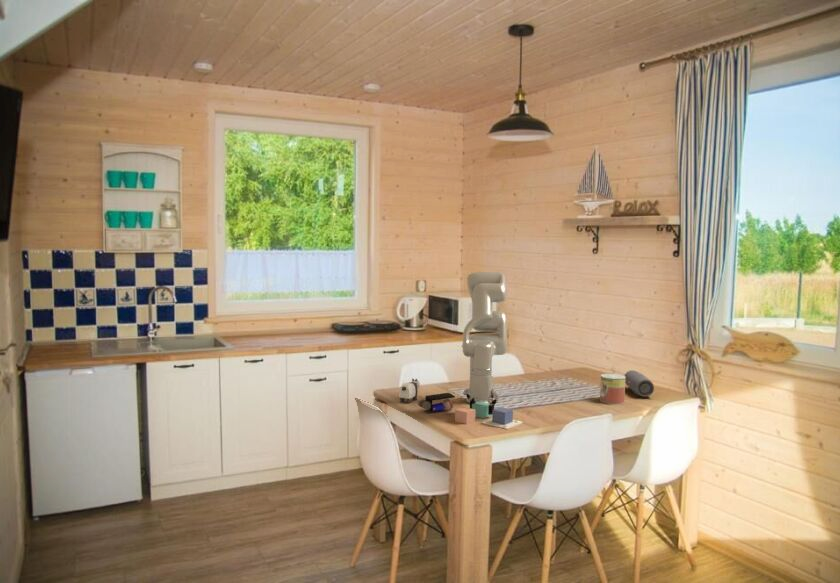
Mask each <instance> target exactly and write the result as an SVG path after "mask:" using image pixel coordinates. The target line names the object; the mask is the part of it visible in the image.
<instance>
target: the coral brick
mask: <svg viewBox="0 0 840 583" xmlns="http://www.w3.org/2000/svg"><path fill="white" fill-rule="evenodd" d="M475 411H476V410H475V409H471V408H470V407H465V406H463V407H459V408H456V409H454V422H457V423H461V424H465V425H468V424H471V423H474V422H476V416H475Z"/></svg>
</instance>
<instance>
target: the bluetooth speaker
mask: <svg viewBox="0 0 840 583" xmlns="http://www.w3.org/2000/svg"><path fill="white" fill-rule="evenodd" d="M624 376H625V377H626V378H625V386H627V387H628V389H630V390H631V391H632V393H633V394H634V395H635V396H637V397H651V395H653V393H654V391H655V385H654V383H653V382H652V381H651V380H650V379H649V378H648V377H647V376H645V375H644V374H642V373H641V372H638V371H636V370H628V371H627V372H626V373H625V374H624Z"/></svg>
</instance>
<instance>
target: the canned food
mask: <svg viewBox="0 0 840 583" xmlns="http://www.w3.org/2000/svg"><path fill="white" fill-rule="evenodd" d="M625 378H626V377H625V375H622V374H618V373H602V374H600V387H599V388H600V390H599V401H600V402H601V403H603V404H608V405H623V404H625V403H626V402H625V401H626V400H625V399H626V398H625V397H626V394H625V393H626V383H625Z"/></svg>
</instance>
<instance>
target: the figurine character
mask: <svg viewBox="0 0 840 583" xmlns="http://www.w3.org/2000/svg"><path fill="white" fill-rule="evenodd" d="M454 398H456V396H455V395H453V394H452V393H450V392H444V393H437V394H429V395H425V399H423V398H421V399H420V400H417V405H418V407H420V408H422V409H423V412H424V413H426V414H431V413H433V412H437V411H442V410H444V411H446V412H447V411H448V412H449V411H452V409H453V408H454V403H453V401H452V400H451V399H454ZM438 400H442V402H437V403H433V402H434V401H438Z"/></svg>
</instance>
